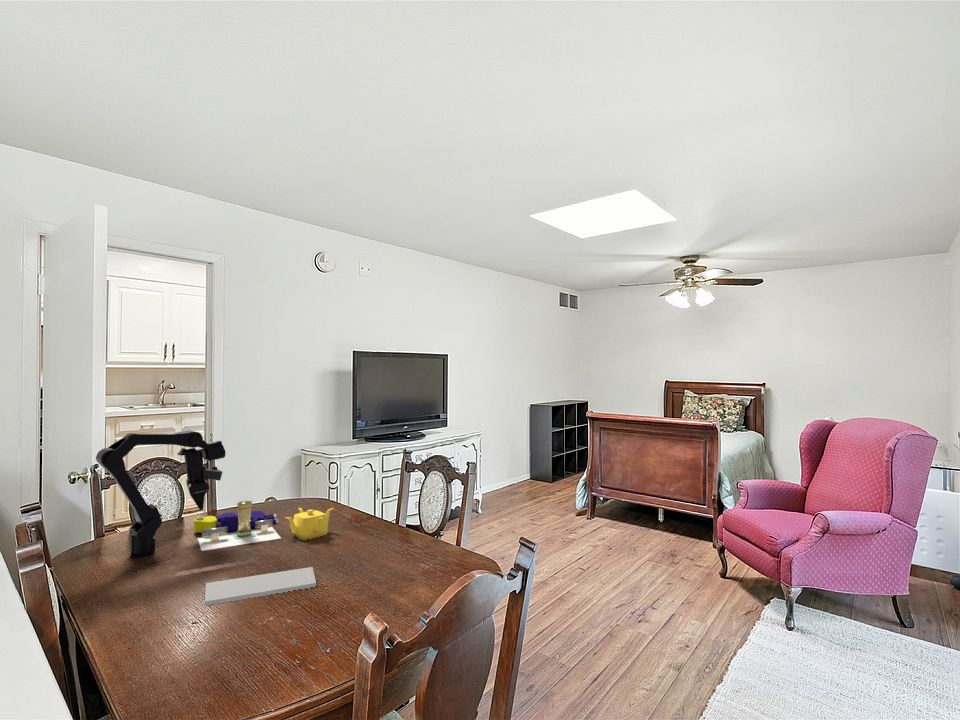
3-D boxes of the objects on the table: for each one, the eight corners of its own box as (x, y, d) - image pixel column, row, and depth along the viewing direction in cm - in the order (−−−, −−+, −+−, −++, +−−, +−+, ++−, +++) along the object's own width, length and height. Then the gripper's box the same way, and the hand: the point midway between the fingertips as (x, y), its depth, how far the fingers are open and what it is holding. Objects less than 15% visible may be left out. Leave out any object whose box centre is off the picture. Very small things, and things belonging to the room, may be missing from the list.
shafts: (202, 543, 182) (202, 531, 182) (201, 539, 186) (201, 527, 186) (273, 532, 195) (273, 521, 195) (270, 528, 200) (270, 517, 200)
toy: (272, 525, 214) (190, 531, 196) (273, 508, 214) (193, 513, 197) (279, 532, 204) (195, 539, 187) (281, 514, 205) (197, 520, 187)
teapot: (333, 529, 204) (333, 505, 204) (323, 541, 190) (324, 515, 190) (296, 529, 204) (297, 505, 204) (284, 541, 189) (284, 515, 190)
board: (201, 554, 175) (201, 550, 175) (197, 541, 188) (197, 537, 188) (281, 541, 189) (281, 537, 189) (271, 529, 202) (272, 526, 202)
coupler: (237, 537, 188) (238, 505, 188) (235, 533, 192) (236, 501, 192) (252, 535, 191) (253, 503, 191) (249, 531, 195) (250, 500, 195)
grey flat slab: (204, 608, 137) (205, 594, 137) (205, 590, 148) (205, 578, 148) (316, 588, 150) (317, 576, 150) (310, 573, 161) (310, 562, 161)
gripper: (221, 463, 183) (227, 506, 184) (216, 456, 199) (221, 496, 200) (186, 470, 177) (192, 514, 178) (183, 463, 193) (189, 503, 194)
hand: (200, 506), depth 187 cm, fingers open, 9 cm apart
